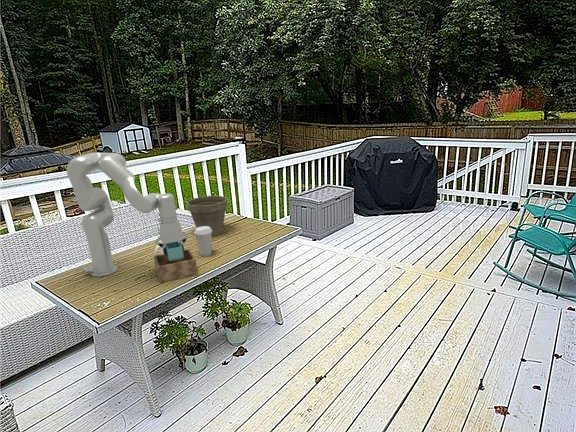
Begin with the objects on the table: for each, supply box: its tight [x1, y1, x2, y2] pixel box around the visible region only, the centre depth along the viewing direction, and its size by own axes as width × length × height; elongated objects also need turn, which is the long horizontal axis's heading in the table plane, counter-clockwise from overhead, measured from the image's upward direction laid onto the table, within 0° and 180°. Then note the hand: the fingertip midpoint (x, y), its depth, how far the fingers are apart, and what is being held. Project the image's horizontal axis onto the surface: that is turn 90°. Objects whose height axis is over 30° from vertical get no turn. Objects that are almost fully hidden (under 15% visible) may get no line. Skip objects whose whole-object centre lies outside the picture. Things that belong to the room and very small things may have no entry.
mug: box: [154, 240, 164, 256], centre depth 214 cm, size 12×8×10 cm
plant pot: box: [186, 195, 228, 237], centre depth 250 cm, size 25×25×22 cm
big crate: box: [153, 248, 198, 284], centre depth 198 cm, size 18×16×8 cm
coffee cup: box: [194, 226, 213, 257], centre depth 218 cm, size 10×10×15 cm
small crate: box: [166, 241, 184, 261], centre depth 195 cm, size 7×11×6 cm, turn 25°
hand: (174, 253), depth 196 cm, fingers closed on small crate, 7 cm apart
